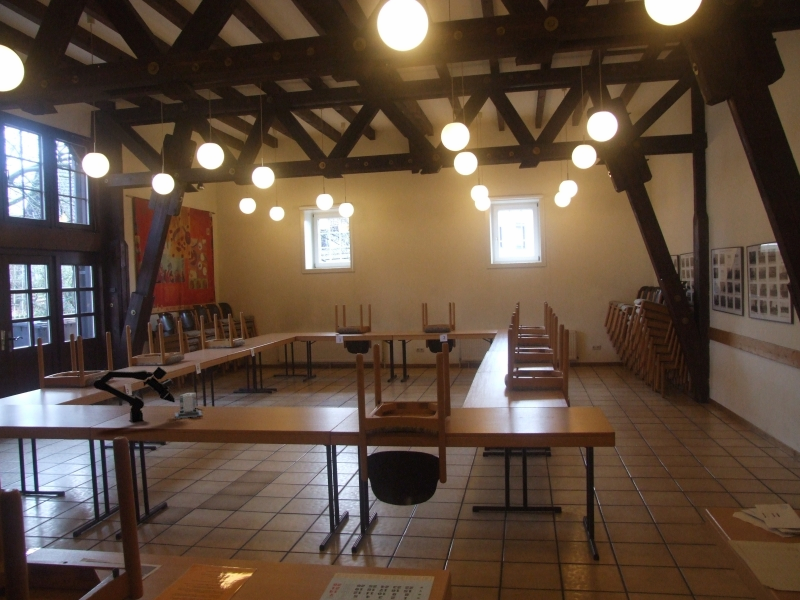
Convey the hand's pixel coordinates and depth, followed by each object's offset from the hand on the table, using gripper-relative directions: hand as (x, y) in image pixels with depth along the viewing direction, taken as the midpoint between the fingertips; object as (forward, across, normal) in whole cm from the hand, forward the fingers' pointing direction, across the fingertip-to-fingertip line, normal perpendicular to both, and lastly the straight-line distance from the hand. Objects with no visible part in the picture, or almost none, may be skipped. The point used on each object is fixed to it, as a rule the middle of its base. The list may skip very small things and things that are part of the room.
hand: (174, 400), depth 374 cm
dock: (+13, 0, +2) cm, 13 cm away
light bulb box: (+14, +21, +1) cm, 26 cm away
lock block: (+12, 0, +1) cm, 12 cm away
